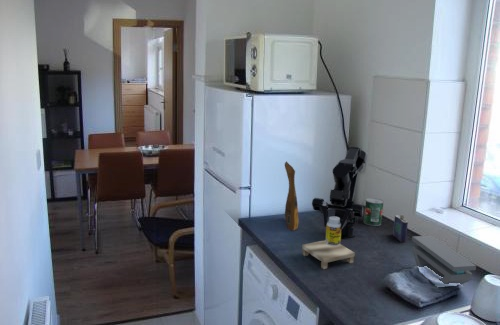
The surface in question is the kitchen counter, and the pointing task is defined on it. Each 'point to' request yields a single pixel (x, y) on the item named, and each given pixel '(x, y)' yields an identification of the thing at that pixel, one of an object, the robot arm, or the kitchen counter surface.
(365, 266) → the kitchen counter surface
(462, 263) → the sharpening stone
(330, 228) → the supplement bottle
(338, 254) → the beige wooden stand
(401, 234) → the flask
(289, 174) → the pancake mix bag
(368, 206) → the canned tomato
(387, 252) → the kitchen counter surface
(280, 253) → the kitchen counter surface
